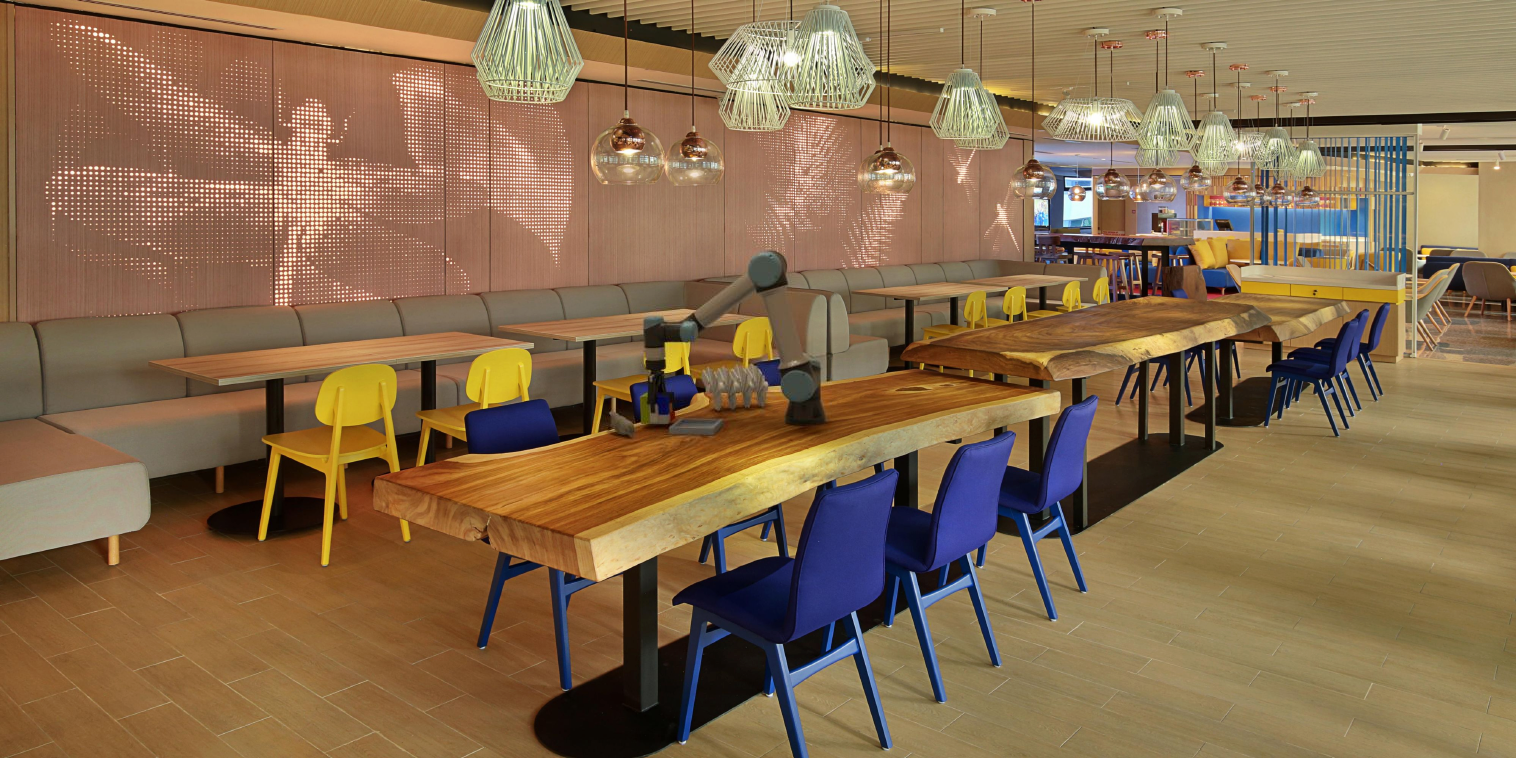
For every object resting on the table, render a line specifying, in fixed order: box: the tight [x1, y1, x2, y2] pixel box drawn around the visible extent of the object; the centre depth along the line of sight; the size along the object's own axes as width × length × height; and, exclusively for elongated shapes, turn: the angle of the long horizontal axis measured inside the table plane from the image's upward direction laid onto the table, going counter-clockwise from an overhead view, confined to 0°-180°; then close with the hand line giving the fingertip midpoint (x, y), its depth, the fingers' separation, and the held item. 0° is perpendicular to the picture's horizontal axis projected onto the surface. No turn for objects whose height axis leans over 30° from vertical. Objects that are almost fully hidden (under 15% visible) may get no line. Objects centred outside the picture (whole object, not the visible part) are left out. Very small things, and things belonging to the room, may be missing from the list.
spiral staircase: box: [701, 363, 769, 412], centre depth 406 cm, size 18×18×25 cm
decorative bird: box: [607, 410, 636, 439], centre depth 364 cm, size 5×16×8 cm, turn 34°
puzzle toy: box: [639, 391, 676, 425], centre depth 377 cm, size 10×10×10 cm
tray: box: [668, 417, 724, 436], centre depth 370 cm, size 16×16×2 cm
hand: (658, 418), depth 378 cm, fingers closed on puzzle toy, 10 cm apart
